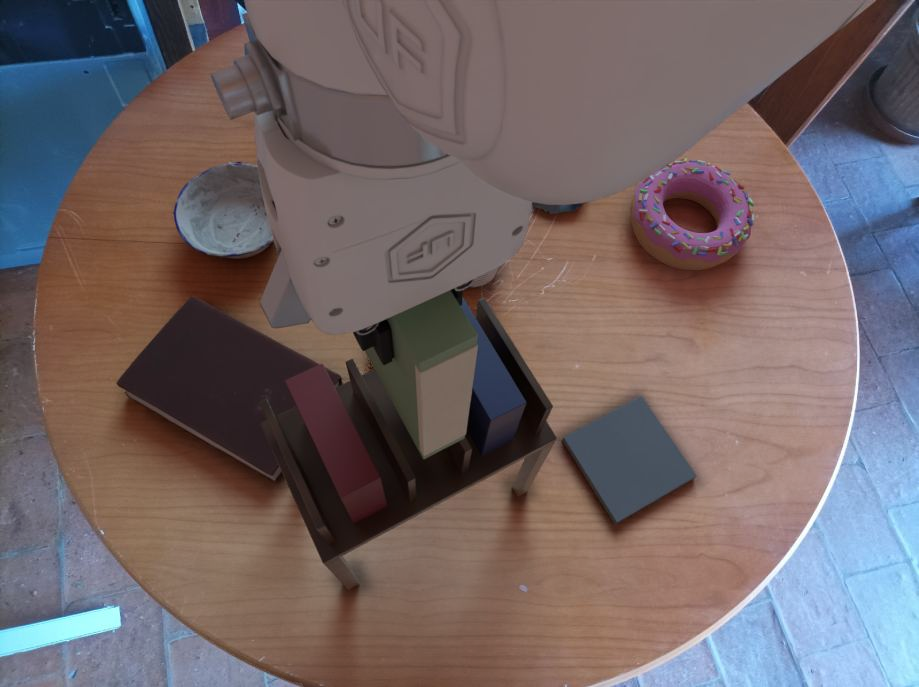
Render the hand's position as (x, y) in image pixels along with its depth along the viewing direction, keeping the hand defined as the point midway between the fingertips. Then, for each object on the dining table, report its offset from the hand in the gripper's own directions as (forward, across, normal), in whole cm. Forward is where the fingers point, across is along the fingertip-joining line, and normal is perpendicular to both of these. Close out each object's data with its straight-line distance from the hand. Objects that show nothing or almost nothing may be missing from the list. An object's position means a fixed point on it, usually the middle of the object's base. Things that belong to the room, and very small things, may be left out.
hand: (407, 325), depth 38 cm
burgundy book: (+19, -6, +1) cm, 20 cm away
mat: (+37, +21, -7) cm, 43 cm away
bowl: (+37, -4, +38) cm, 53 cm away
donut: (+37, +44, +14) cm, 59 cm away
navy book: (+19, +5, 0) cm, 20 cm away
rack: (+37, 0, +1) cm, 37 cm away
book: (+37, -12, +19) cm, 43 cm away
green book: (+10, 0, 0) cm, 10 cm away
